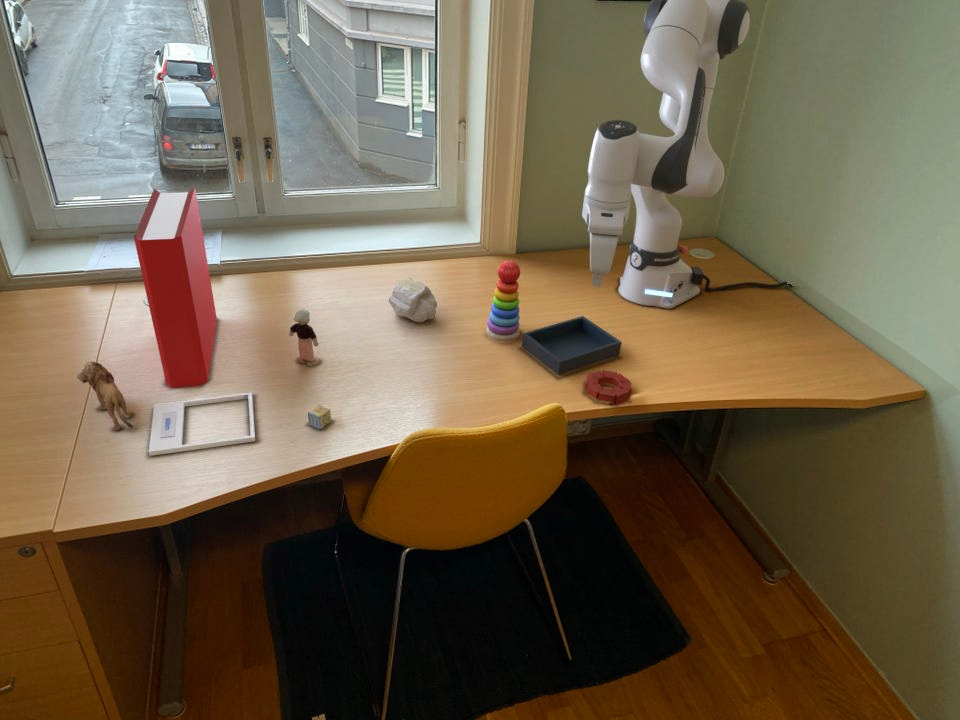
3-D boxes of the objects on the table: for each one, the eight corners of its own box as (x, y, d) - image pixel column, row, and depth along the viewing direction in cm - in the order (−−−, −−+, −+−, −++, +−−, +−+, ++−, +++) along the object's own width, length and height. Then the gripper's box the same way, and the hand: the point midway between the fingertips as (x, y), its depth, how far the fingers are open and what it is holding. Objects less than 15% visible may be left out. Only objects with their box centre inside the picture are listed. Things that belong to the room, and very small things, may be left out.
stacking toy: (516, 346, 167) (523, 272, 157) (482, 341, 168) (487, 267, 158) (522, 329, 173) (528, 257, 163) (489, 324, 175) (494, 252, 165)
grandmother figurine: (326, 360, 158) (323, 308, 151) (317, 369, 155) (313, 317, 148) (295, 352, 160) (290, 301, 153) (286, 361, 157) (280, 309, 150)
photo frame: (154, 403, 140) (251, 391, 144) (155, 408, 140) (252, 396, 145) (148, 450, 128) (254, 436, 133) (149, 455, 129) (255, 441, 133)
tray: (580, 331, 174) (582, 315, 172) (618, 357, 165) (621, 341, 163) (521, 349, 166) (522, 333, 164) (557, 378, 156) (559, 362, 154)
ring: (608, 375, 158) (610, 366, 157) (638, 397, 152) (640, 387, 151) (576, 387, 154) (577, 377, 153) (605, 409, 148) (606, 400, 146)
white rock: (430, 330, 171) (441, 314, 180) (434, 298, 167) (445, 283, 176) (381, 319, 173) (394, 303, 181) (384, 287, 169) (397, 272, 177)
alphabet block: (308, 424, 139) (307, 411, 137) (319, 416, 141) (318, 403, 139) (320, 430, 137) (319, 417, 136) (331, 422, 140) (330, 409, 138)
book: (180, 322, 168) (154, 188, 151) (217, 319, 170) (194, 187, 153) (165, 388, 146) (132, 240, 129) (207, 385, 148) (180, 238, 131)
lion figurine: (82, 403, 141) (70, 364, 136) (109, 392, 144) (99, 353, 139) (120, 436, 133) (109, 396, 128) (148, 423, 136) (138, 383, 132)
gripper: (589, 189, 149) (581, 251, 156) (588, 227, 132) (579, 295, 139) (620, 192, 148) (611, 254, 156) (623, 231, 131) (612, 298, 139)
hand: (596, 274), depth 147 cm, fingers open, 8 cm apart
